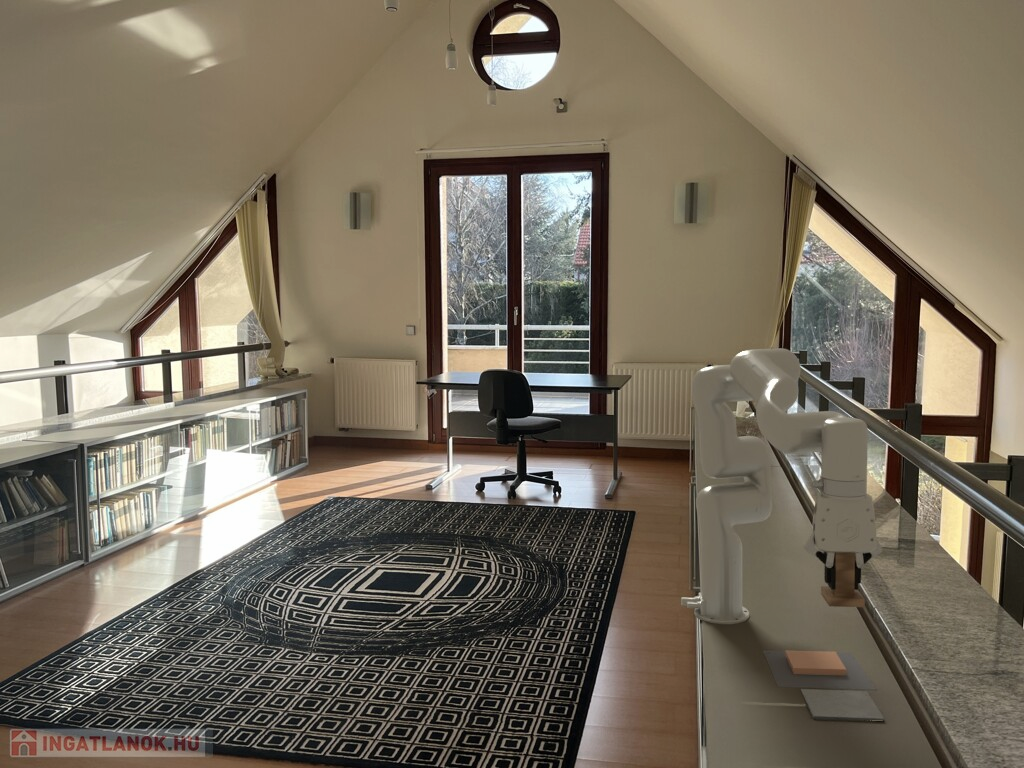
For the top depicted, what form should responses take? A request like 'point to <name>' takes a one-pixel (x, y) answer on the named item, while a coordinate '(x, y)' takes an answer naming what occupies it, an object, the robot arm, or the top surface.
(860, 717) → the plate
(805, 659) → the tile
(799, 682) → the mat
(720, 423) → the robot arm
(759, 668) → the top surface
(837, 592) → the wooden block
